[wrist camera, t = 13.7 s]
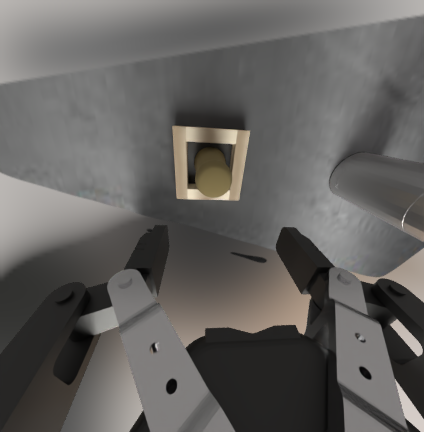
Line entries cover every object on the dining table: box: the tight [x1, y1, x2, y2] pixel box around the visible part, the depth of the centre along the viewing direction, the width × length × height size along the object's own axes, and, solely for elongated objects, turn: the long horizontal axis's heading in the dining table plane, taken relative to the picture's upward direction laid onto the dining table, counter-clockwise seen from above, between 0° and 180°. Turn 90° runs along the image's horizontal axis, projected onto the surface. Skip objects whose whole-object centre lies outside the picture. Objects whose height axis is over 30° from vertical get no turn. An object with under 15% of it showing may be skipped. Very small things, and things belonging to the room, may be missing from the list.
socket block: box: [172, 126, 250, 200], centre depth 28 cm, size 12×12×3 cm
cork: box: [194, 147, 232, 198], centre depth 25 cm, size 6×6×11 cm
